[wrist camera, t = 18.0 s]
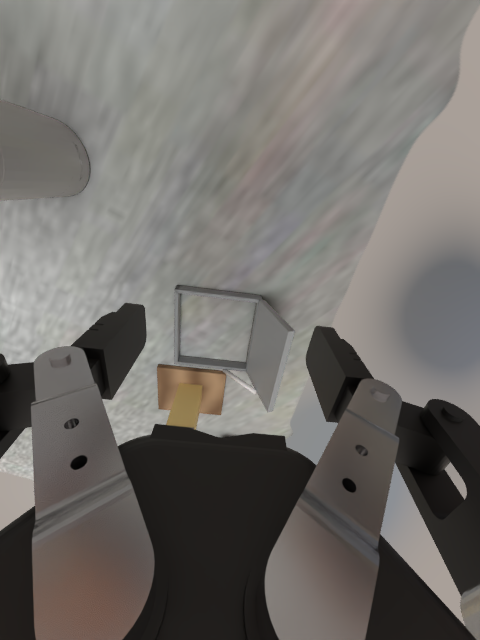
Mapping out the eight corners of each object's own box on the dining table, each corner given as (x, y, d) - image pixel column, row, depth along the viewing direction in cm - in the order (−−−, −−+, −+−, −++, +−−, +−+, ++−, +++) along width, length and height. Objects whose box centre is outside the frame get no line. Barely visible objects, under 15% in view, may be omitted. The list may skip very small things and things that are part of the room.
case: (176, 360, 50) (160, 404, 40) (177, 285, 43) (156, 316, 32) (266, 370, 51) (272, 415, 41) (283, 298, 44) (295, 332, 33)
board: (160, 405, 56) (158, 409, 56) (158, 364, 51) (157, 367, 50) (221, 411, 57) (220, 415, 56) (226, 371, 52) (226, 374, 51)
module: (178, 399, 54) (161, 456, 43) (179, 382, 52) (161, 438, 40) (201, 401, 54) (190, 459, 43) (202, 385, 52) (191, 441, 41)
